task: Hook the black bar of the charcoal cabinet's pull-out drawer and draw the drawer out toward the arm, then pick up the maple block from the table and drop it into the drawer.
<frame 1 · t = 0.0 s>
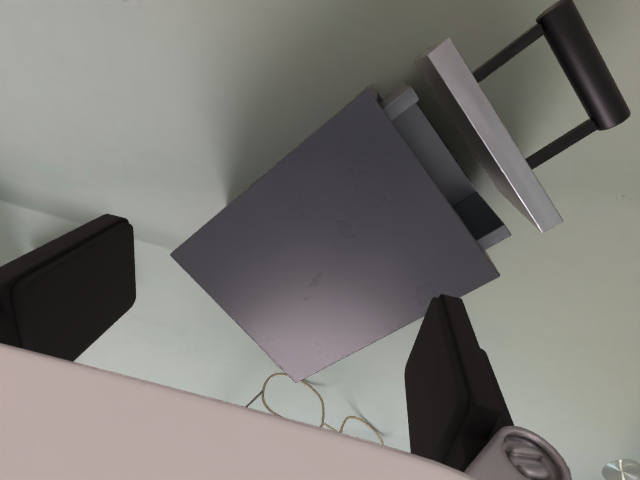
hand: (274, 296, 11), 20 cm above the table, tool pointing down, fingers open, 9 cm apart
cabinet: (340, 211, 31), on the table
eyeglasses: (299, 432, 43), on the table
pull-out drawer: (426, 169, 23), point 5 cm above the table, slide at 3.0 cm
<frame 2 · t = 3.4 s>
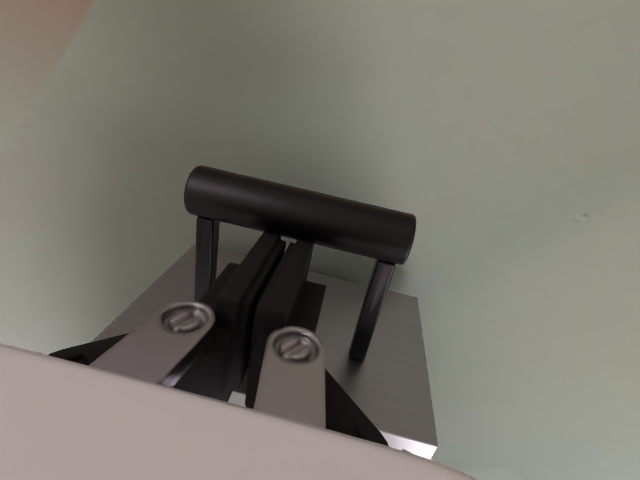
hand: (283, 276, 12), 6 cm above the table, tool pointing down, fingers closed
pull-out drawer: (272, 392, 17), point 5 cm above the table, slide at 3.1 cm, touching gripper
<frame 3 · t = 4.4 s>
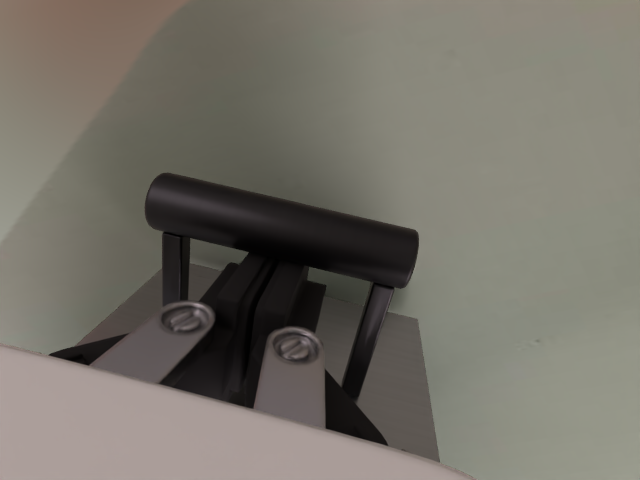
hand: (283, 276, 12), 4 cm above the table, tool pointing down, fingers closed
pull-out drawer: (255, 427, 15), point 5 cm above the table, slide at 8.8 cm, touching gripper
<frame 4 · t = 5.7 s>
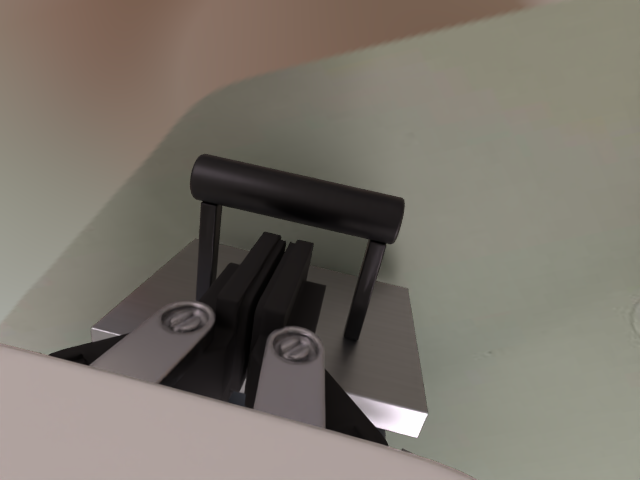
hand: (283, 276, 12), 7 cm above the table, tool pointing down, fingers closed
pull-out drawer: (269, 379, 17), point 5 cm above the table, slide at 11.9 cm
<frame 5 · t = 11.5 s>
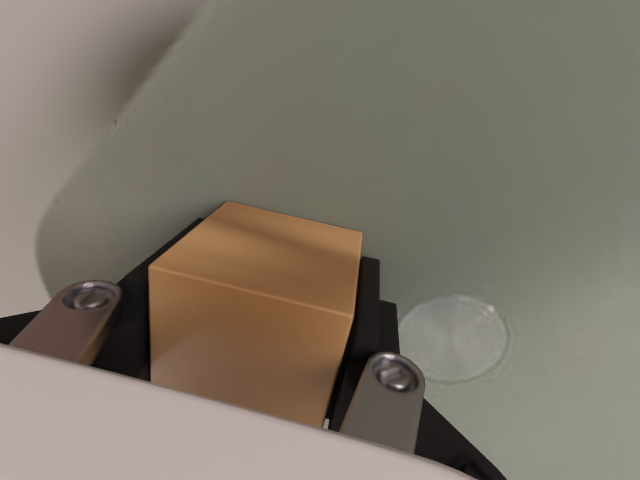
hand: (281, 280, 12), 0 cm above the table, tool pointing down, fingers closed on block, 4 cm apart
block: (284, 274, 12), on the table, touching gripper
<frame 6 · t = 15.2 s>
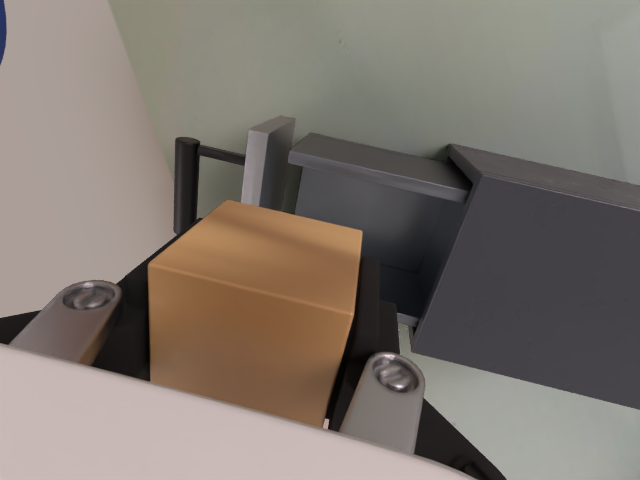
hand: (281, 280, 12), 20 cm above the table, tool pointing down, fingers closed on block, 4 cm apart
block: (284, 273, 12), point 19 cm above the table, touching gripper
cabinet: (516, 239, 30), on the table
pull-out drawer: (314, 213, 27), point 5 cm above the table, slide at 11.9 cm
when the fingers open (6 cm above the table, at t = 19.2 s): block drops 3 cm, resting on pull-out drawer.
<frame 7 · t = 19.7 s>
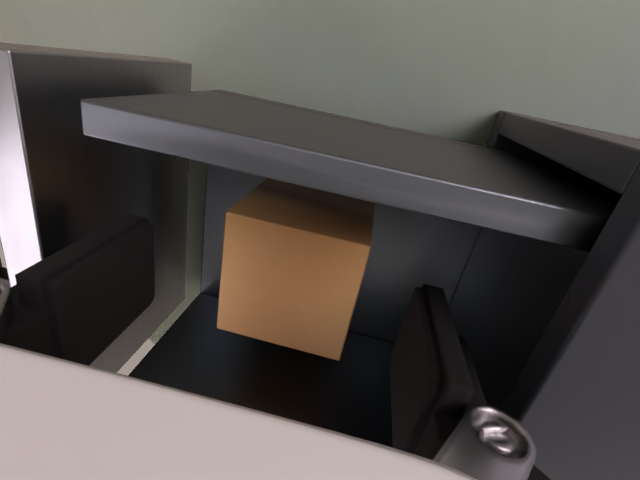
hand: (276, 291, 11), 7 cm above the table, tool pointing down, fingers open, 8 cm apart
block: (311, 237, 15), point 2 cm above the table, touching pull-out drawer
cabinet: (619, 293, 16), on the table
pull-out drawer: (217, 249, 13), point 5 cm above the table, slide at 12.1 cm, touching block, gripper
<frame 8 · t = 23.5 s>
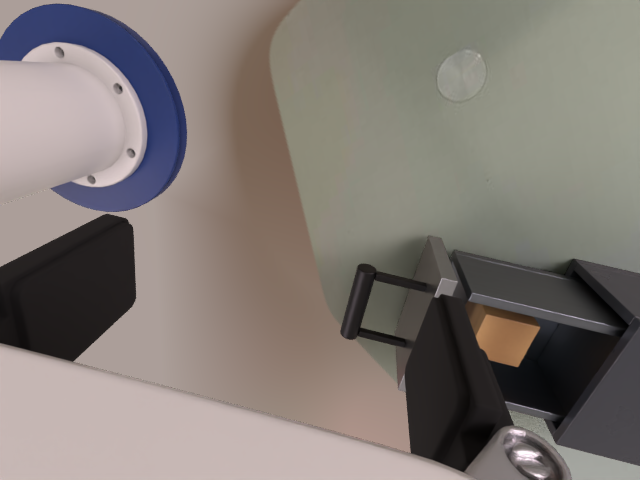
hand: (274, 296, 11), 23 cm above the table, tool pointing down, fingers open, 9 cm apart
block: (488, 310, 34), point 2 cm above the table, touching pull-out drawer
cabinet: (623, 333, 35), on the table
pull-out drawer: (462, 321, 32), point 5 cm above the table, slide at 12.0 cm, touching block
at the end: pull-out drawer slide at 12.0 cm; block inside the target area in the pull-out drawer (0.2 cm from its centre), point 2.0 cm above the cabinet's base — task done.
